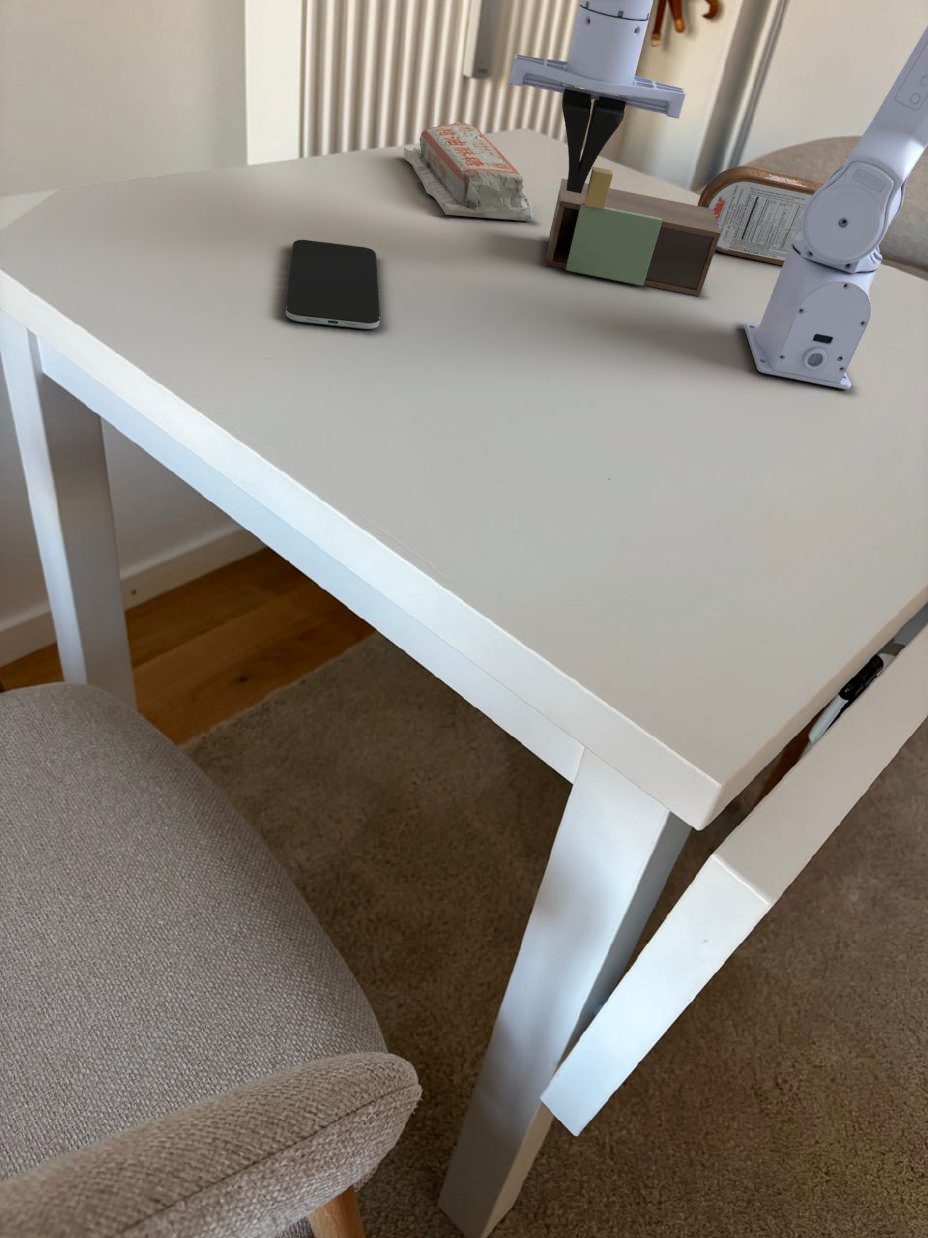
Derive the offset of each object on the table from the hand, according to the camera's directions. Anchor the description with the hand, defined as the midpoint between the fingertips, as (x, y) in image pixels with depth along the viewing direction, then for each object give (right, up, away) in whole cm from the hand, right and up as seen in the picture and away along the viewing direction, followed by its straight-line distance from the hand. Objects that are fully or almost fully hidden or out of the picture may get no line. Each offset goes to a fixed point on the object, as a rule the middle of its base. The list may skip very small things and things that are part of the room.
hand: (573, 188), depth 83 cm
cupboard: (+6, -4, +8) cm, 11 cm away
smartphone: (-21, -11, -6) cm, 24 cm away
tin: (+21, 0, +17) cm, 27 cm away
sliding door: (+4, -6, +5) cm, 9 cm away
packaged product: (-10, +8, +18) cm, 22 cm away
